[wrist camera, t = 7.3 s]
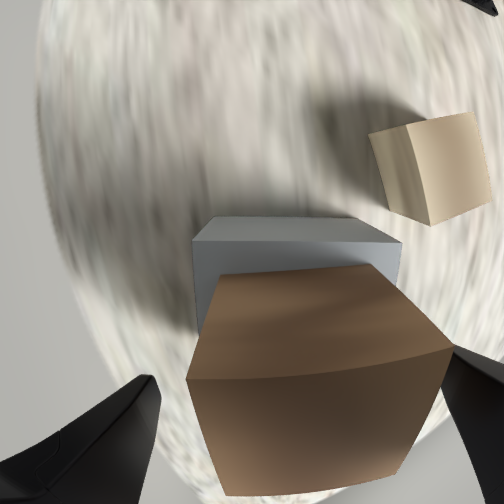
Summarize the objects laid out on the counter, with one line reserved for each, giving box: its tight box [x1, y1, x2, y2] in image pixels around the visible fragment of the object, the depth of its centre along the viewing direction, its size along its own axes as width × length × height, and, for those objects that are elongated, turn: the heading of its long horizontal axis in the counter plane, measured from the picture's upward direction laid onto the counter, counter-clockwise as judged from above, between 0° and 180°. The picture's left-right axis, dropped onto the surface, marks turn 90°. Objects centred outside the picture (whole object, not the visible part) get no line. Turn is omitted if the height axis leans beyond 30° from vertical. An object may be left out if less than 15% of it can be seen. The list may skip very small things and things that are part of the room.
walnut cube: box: [186, 264, 455, 496], centre depth 7 cm, size 5×5×5 cm
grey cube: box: [192, 216, 402, 336], centre depth 12 cm, size 7×7×5 cm
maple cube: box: [368, 112, 492, 227], centre depth 11 cm, size 4×4×4 cm
